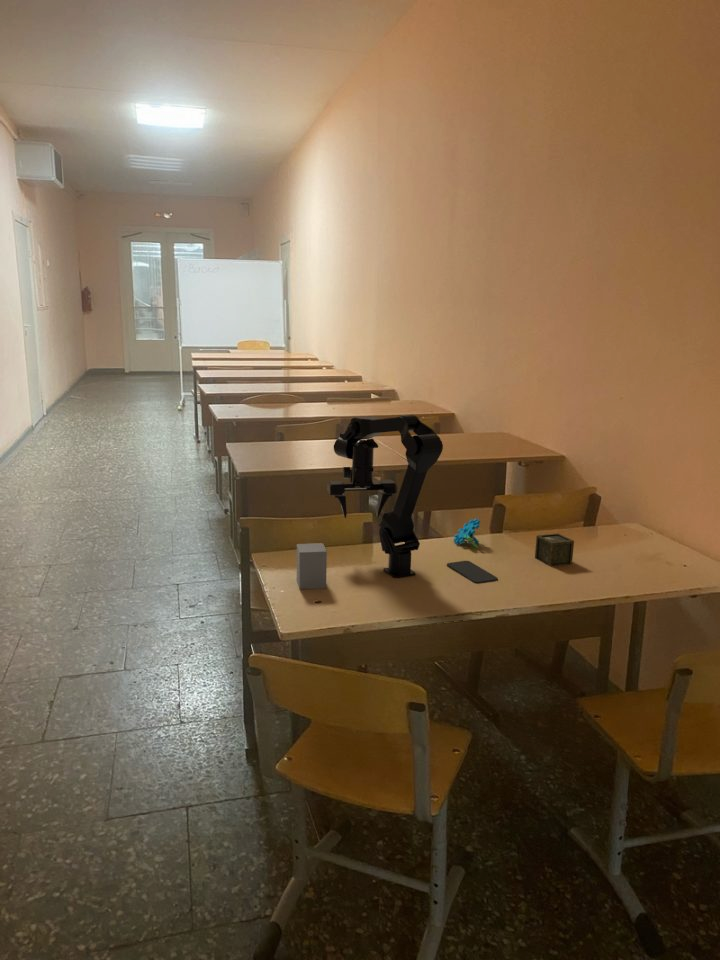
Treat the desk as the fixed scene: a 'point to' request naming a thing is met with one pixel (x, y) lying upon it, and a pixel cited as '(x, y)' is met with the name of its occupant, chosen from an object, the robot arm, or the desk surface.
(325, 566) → the grey rectangular block
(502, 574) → the desk surface
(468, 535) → the blue green lobed piece
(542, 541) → the wooden crate
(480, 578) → the phone
